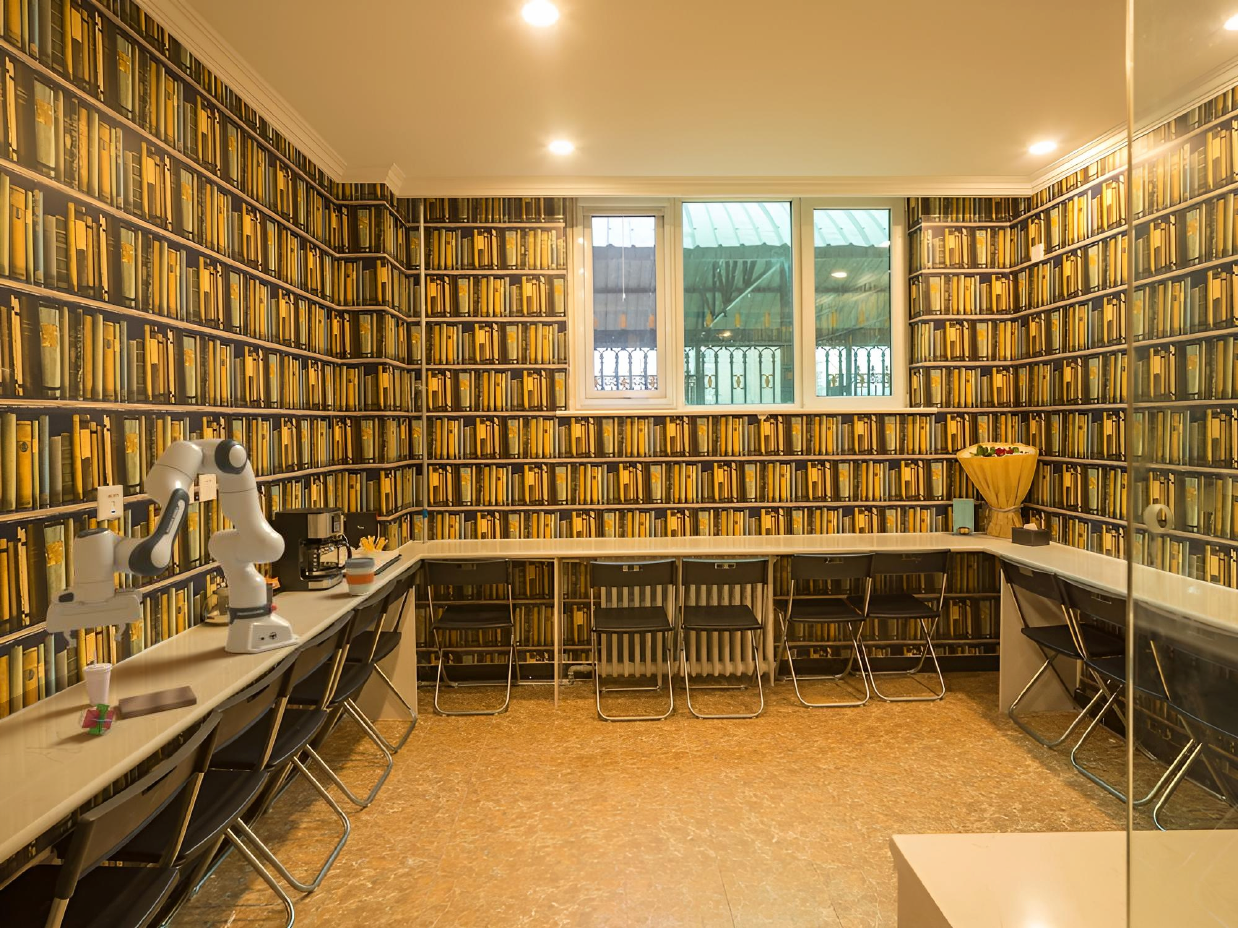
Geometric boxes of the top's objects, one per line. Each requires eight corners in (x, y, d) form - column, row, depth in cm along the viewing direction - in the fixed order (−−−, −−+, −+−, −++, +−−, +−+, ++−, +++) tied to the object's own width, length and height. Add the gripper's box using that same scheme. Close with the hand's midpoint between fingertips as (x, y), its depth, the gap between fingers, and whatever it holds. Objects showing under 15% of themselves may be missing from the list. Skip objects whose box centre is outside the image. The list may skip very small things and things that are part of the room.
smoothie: (96, 698, 194) (94, 646, 193) (119, 698, 194) (117, 646, 193) (77, 707, 187) (75, 654, 187) (101, 707, 187) (99, 654, 187)
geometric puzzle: (112, 713, 178) (90, 694, 173) (131, 717, 175) (109, 697, 171) (88, 739, 173) (65, 720, 168) (107, 744, 170) (84, 725, 165)
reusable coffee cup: (380, 593, 320) (380, 559, 319) (353, 598, 311) (352, 563, 310) (366, 589, 328) (366, 556, 328) (340, 593, 319) (339, 559, 319)
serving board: (189, 690, 199) (189, 685, 199) (196, 703, 190) (196, 697, 190) (118, 704, 189) (118, 699, 189) (122, 718, 180) (122, 712, 180)
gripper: (140, 584, 198) (141, 634, 198) (45, 594, 185) (46, 647, 186) (143, 587, 193) (144, 639, 193) (45, 598, 180) (46, 653, 181)
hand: (95, 643), depth 190 cm, fingers open, 8 cm apart
